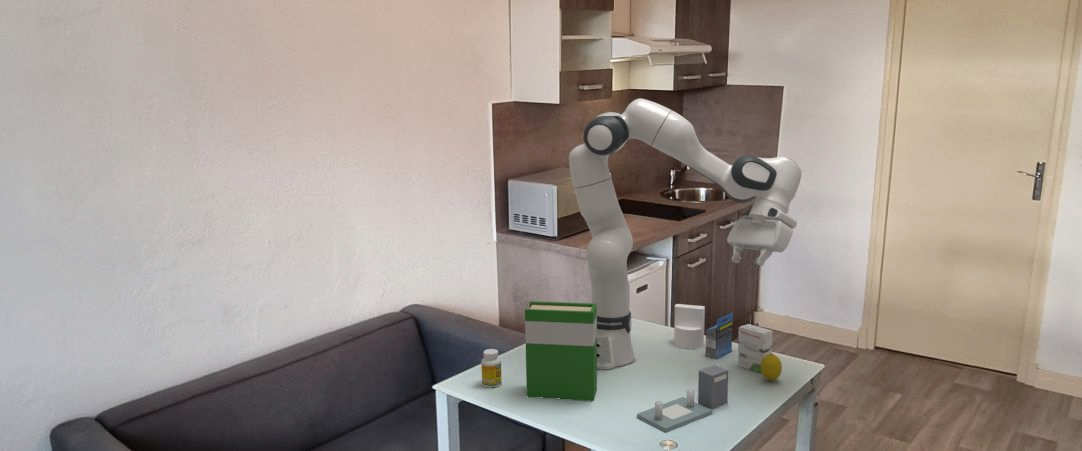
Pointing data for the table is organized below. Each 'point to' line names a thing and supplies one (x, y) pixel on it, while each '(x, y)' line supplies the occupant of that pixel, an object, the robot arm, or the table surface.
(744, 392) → the table surface
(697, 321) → the base with upright slab
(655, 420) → the tray
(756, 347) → the ink box
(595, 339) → the hardback book
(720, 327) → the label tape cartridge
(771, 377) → the lemon
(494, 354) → the supplement bottle
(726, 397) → the block
